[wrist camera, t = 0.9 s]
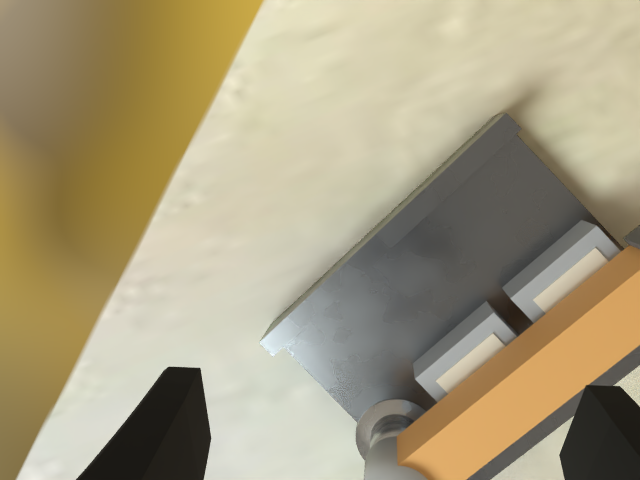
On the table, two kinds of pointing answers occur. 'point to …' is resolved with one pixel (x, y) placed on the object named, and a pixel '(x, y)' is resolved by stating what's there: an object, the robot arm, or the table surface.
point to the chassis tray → (434, 285)
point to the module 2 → (560, 269)
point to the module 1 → (463, 351)
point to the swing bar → (522, 380)
